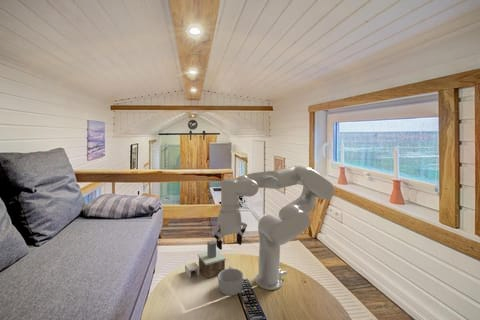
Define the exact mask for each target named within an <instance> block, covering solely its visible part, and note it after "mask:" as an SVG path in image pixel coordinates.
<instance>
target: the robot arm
mask: <svg viewBox="0 0 480 320" xmlns="http://www.w3.org/2000/svg"><path fill="white" fill-rule="evenodd" d="M220 185H221V187H220V188H221V189H220V190H221V191H220V195H221V196H220V200H221V202H220V204H221V205H220V210H219V212H218V215H217V222H216V223H217V224H216V226H215V227H214V228H212V229H211V230H210V233H211V235H212V236H213V238H214V239H216V249H218V250H220V251H222V249H223V241H222V239H223V237H224V236H230V235H234V234H236V243H237V244H238V245H240V246H241V245H242V244H243V243H242V242H243V236H244V233H245V232H246V229H247V227H248V224H247V223H245V222H242V215H241V211H240V208H241V206H242V205H241V203H240V200H239V199H240V197H245V198H246V197H247V198H248V197H253V196H256V194H257V193H258V191H259V189H263V188H264V189H271V190H280V189H284V188H287V187H292V186H296V185H300V186H302V192H301V194H300V196H299V197H297V198H296V199H295V200H293V201H291V202H289V203H288V204H286V205H284V206H283V207H282V208H281V209H280V210H279V211H278V218H279V219H278V218H277V217H275V216H273V215H271V214H266V215H263V216H261V218H260V219H259V220H258V226H257V229H258V230H257V231H258V239H259V240H258V241H259V242H258V243H259V244H258V246H259V247H258V248H259V249H258V274H257V275H256V276H255V277H254V282H255V283H256V286H257V287H258V288H260V289H263V290H267V291H275V290H278V289H280V288H281V287H282V286H283V278H282V277H283V276H286V275H287V272H288V271H287V270H282V269H281V268H280V262H281V261H280V260H281V259H280V258H281V257H280V255H281V246H283V245H285V244H287V243H289V242H290V241H291V240H293V239H295V238H297V237H298V236H299V235H301V234H303V233H304V232H305V231H306V230H307V228H308V227H309V225H310V221H311V219H310V216H309V213H311V212H312V211H313V210H314V208H315V204H316V199H317V198H318V199H320V200H329V199H331V198H332V197H333V196H334V194H335V186H334V185H333V183H332V182H331V181H330V180H328V179H327V178H325V177H324V176H323V175H321V174H320V173H319V172H317V171H316V170H314V169H312V167H309V166H308V167H307V166H303V165H294V166H290V167H286V168H280V169H276V170H266V171H259V172H251V173H247V174H242V175H239V176H238V177H236V178H225V179H222V180H221V184H220ZM216 233H217V234H216Z"/></svg>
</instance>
